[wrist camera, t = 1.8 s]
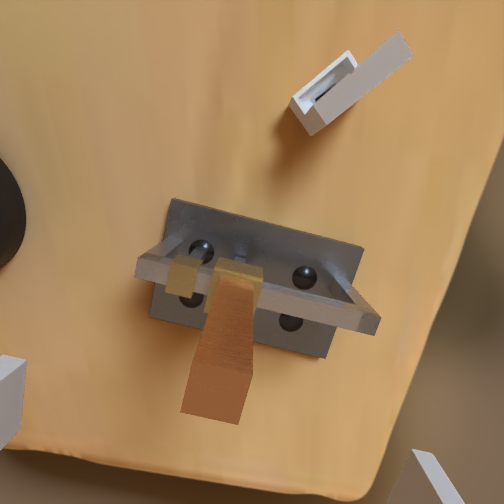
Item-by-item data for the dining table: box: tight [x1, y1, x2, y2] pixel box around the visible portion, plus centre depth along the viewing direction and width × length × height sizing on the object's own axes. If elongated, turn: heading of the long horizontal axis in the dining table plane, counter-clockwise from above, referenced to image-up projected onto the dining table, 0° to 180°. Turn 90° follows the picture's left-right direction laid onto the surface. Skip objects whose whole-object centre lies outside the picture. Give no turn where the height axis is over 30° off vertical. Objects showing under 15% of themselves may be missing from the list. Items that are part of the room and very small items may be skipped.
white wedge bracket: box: [289, 30, 414, 137], centre depth 25 cm, size 4×10×9 cm
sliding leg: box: [180, 256, 263, 425], centre depth 22 cm, size 4×4×20 cm
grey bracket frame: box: [135, 236, 381, 336], centre depth 27 cm, size 19×2×9 cm, turn 75°
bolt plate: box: [149, 198, 364, 359], centre depth 33 cm, size 20×13×1 cm, turn 75°
